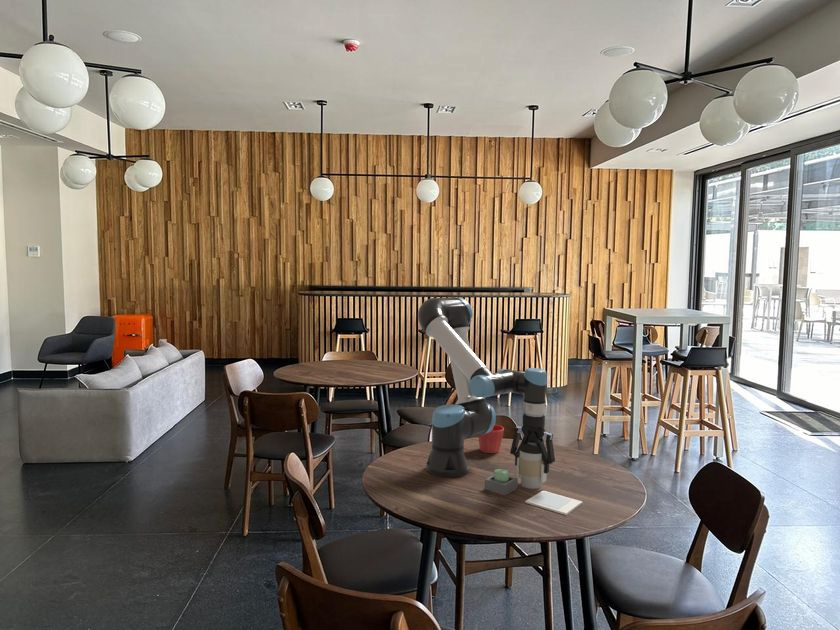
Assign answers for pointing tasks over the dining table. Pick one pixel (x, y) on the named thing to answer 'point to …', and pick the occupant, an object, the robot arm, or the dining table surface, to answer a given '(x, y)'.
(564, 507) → the white flat piece
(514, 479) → the button box
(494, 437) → the flower pot
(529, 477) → the coffee cup
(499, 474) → the button
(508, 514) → the dining table surface
